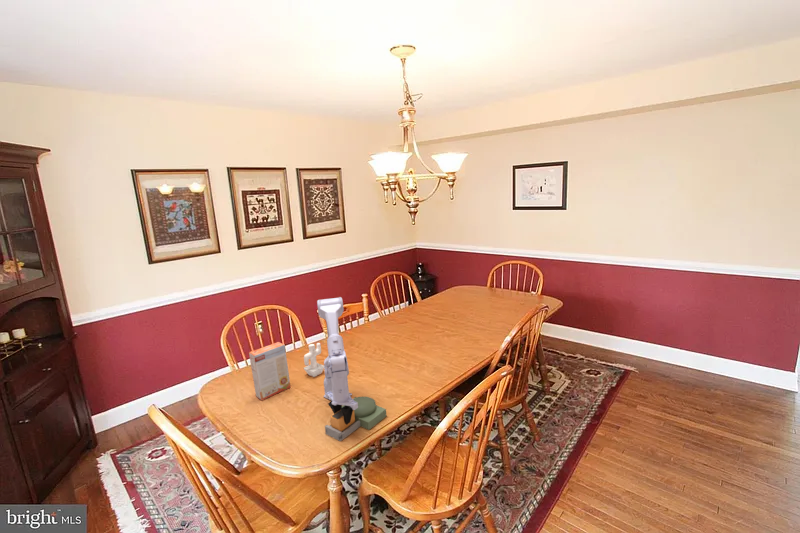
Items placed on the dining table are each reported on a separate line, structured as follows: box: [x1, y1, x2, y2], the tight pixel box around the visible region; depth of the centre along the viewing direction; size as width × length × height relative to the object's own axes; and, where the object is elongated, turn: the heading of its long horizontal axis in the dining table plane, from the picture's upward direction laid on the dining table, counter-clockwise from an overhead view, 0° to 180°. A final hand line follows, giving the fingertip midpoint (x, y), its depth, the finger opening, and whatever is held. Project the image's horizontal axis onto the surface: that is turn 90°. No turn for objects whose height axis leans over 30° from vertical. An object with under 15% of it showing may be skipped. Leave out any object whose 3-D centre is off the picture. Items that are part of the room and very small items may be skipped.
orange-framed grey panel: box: [329, 410, 355, 432], centre depth 138 cm, size 4×8×5 cm, turn 142°
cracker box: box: [248, 341, 291, 401], centre depth 166 cm, size 14×6×21 cm, turn 135°
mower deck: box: [324, 396, 387, 442], centre depth 143 cm, size 16×21×5 cm
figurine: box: [303, 342, 324, 378], centre depth 181 cm, size 7×9×15 cm
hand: (343, 420), depth 139 cm, fingers closed on orange-framed grey panel, 4 cm apart
